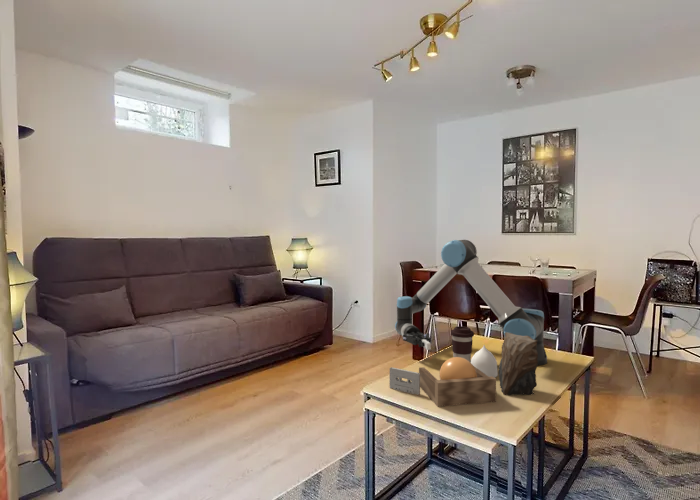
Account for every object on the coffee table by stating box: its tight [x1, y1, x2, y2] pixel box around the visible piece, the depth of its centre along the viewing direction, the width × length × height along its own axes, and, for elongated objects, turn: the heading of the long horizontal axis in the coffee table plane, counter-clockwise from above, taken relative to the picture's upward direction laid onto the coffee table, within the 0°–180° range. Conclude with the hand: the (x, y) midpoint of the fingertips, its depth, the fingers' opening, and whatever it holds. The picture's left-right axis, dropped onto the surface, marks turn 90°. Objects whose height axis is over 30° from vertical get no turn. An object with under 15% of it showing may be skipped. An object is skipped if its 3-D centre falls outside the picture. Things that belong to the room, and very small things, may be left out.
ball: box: [439, 357, 477, 380], centre depth 150 cm, size 13×13×13 cm
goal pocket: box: [418, 366, 497, 408], centre depth 150 cm, size 21×18×8 cm
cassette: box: [389, 367, 421, 395], centre depth 152 cm, size 12×2×8 cm, turn 57°
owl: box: [497, 332, 539, 396], centre depth 153 cm, size 13×13×20 cm
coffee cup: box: [450, 325, 475, 363], centre depth 185 cm, size 10×10×15 cm
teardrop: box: [470, 344, 499, 378], centre depth 170 cm, size 11×11×12 cm
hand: (428, 346), depth 175 cm, fingers closed
